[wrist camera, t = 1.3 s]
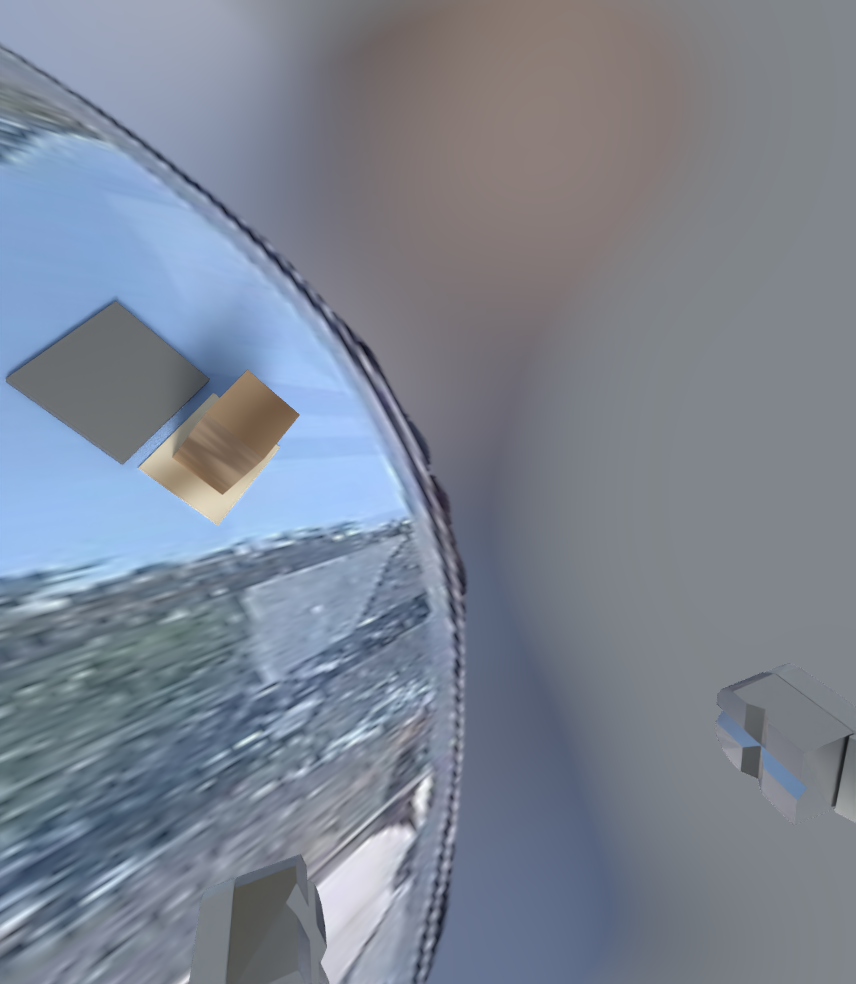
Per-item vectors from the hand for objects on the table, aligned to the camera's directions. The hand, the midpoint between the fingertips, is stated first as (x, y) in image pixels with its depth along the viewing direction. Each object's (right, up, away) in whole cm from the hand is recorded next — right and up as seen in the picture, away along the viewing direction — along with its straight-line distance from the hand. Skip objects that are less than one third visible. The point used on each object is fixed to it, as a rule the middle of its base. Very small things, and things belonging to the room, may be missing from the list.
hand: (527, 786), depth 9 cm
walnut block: (-19, +8, +32) cm, 38 cm away
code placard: (-19, +8, +32) cm, 38 cm away
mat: (-25, +14, +29) cm, 41 cm away
